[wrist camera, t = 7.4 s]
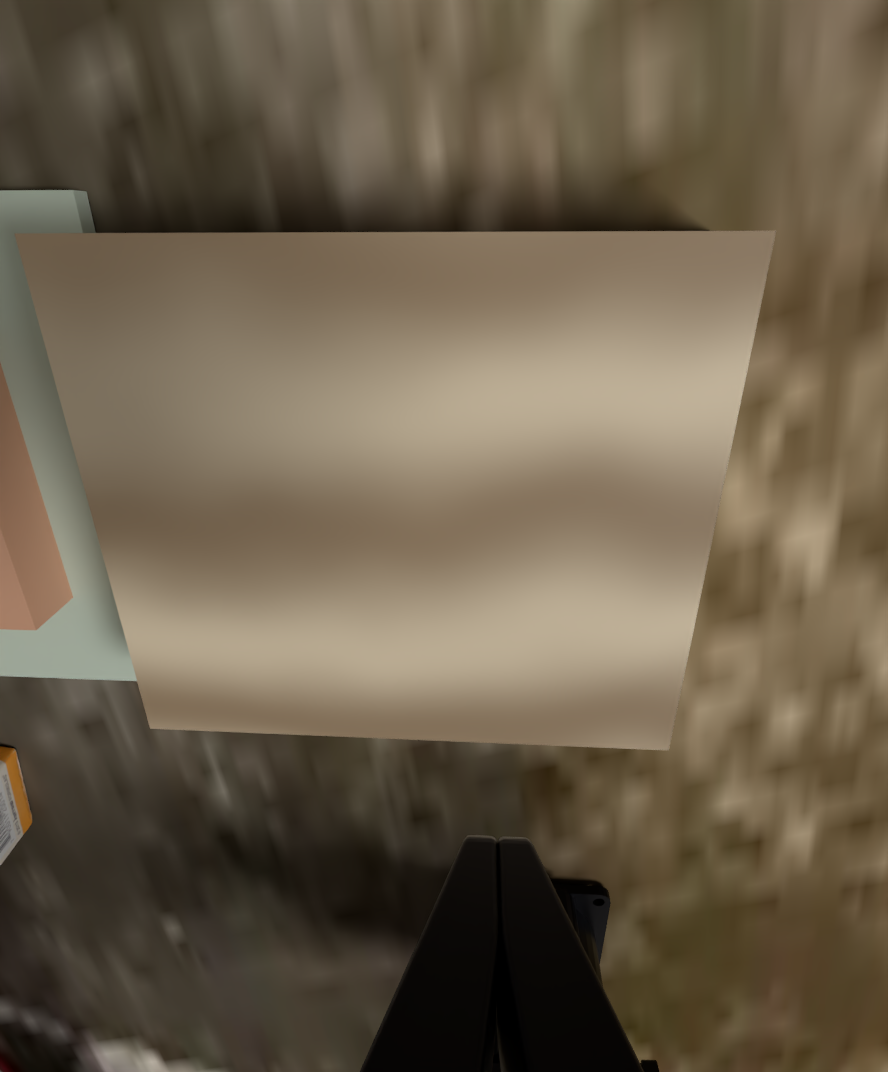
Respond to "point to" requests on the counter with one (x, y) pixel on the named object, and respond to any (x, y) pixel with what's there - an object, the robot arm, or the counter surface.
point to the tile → (25, 534)
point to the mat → (54, 464)
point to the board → (404, 469)
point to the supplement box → (12, 802)
